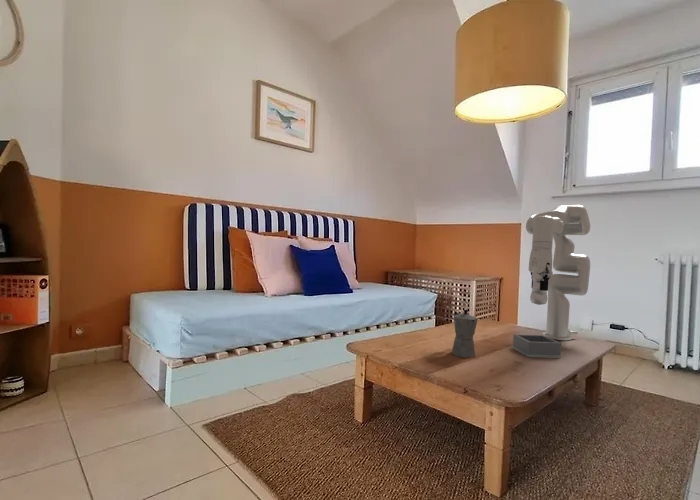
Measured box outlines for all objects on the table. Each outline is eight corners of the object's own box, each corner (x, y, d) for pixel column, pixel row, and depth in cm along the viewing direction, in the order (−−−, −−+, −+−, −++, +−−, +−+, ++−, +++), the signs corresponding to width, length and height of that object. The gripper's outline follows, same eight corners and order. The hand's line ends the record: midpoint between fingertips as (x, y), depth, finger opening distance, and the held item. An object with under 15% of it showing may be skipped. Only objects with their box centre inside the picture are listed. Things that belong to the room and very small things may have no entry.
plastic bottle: (545, 304, 158) (548, 256, 158) (548, 306, 152) (551, 257, 151) (528, 302, 160) (531, 256, 159) (531, 304, 154) (534, 256, 153)
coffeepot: (483, 359, 144) (485, 312, 143) (460, 359, 142) (463, 312, 141) (462, 347, 159) (465, 305, 158) (442, 348, 157) (444, 305, 156)
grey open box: (542, 349, 163) (543, 335, 163) (560, 358, 150) (561, 343, 150) (512, 348, 162) (513, 334, 162) (528, 357, 150) (528, 342, 149)
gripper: (522, 245, 163) (520, 286, 164) (545, 246, 146) (542, 292, 147) (539, 246, 164) (536, 287, 164) (563, 246, 147) (560, 292, 147)
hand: (539, 289), depth 156 cm, fingers closed on plastic bottle, 5 cm apart
